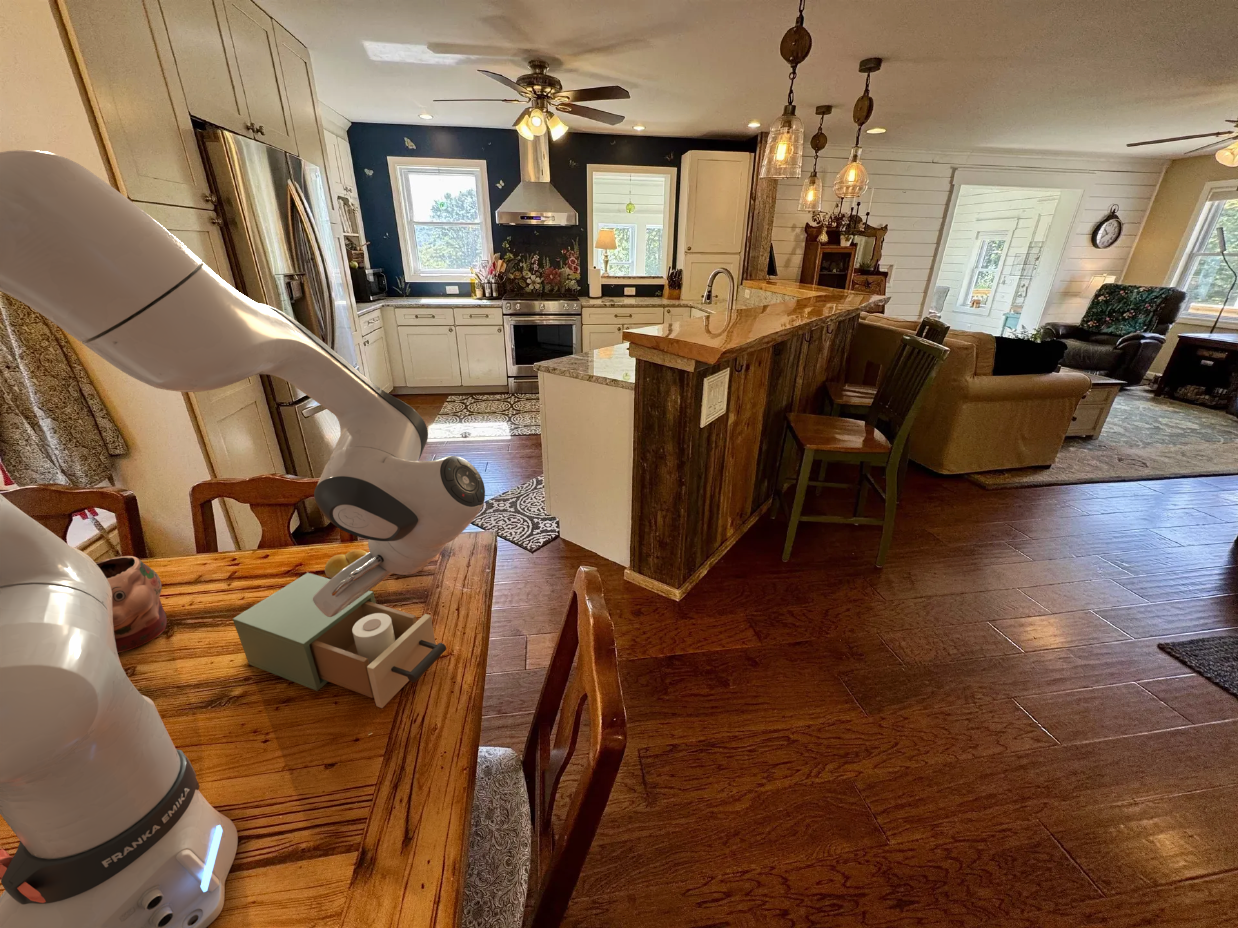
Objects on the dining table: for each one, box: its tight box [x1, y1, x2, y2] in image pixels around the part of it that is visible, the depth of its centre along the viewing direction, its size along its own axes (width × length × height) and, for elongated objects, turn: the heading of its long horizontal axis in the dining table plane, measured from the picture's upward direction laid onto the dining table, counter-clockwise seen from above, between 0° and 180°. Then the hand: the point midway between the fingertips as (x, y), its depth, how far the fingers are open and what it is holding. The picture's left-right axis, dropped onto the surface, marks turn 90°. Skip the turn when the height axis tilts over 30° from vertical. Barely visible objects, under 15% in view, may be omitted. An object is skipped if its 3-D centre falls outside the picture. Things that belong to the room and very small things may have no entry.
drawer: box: [309, 601, 447, 709], centre depth 79 cm, size 19×12×8 cm, turn 70°
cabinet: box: [232, 572, 377, 692], centre depth 84 cm, size 16×14×10 cm
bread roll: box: [324, 549, 368, 579], centre depth 107 cm, size 8×9×4 cm
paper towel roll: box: [352, 613, 396, 664], centre depth 79 cm, size 6×6×8 cm
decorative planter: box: [95, 555, 168, 653], centre depth 87 cm, size 20×12×14 cm, turn 49°
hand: (363, 583), depth 75 cm, fingers open, 8 cm apart
